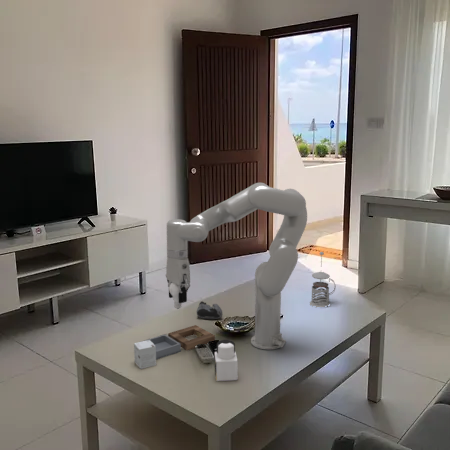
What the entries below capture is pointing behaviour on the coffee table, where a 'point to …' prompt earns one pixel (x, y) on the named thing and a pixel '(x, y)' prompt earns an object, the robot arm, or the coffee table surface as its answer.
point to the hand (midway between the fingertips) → (177, 299)
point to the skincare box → (145, 354)
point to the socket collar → (201, 334)
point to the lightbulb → (175, 294)
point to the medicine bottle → (226, 361)
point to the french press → (320, 300)
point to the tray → (165, 346)
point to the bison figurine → (209, 311)
